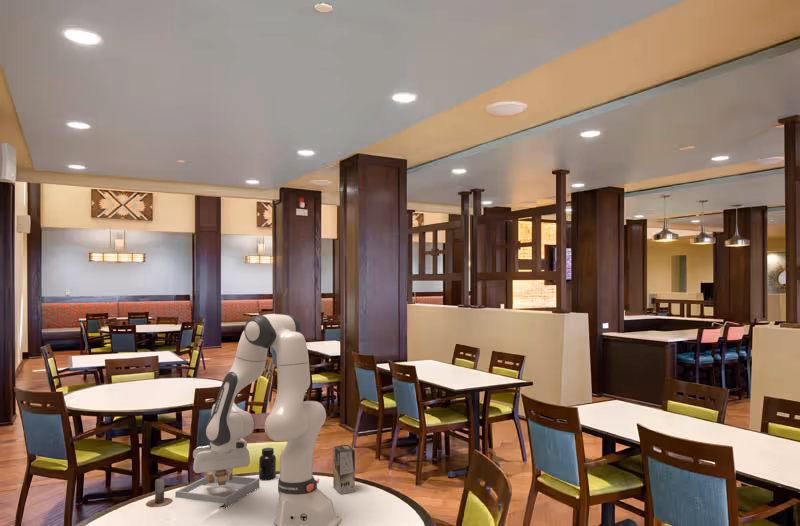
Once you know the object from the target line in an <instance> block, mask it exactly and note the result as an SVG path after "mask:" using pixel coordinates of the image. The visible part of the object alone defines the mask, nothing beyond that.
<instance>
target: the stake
mask: <svg viewBox="0 0 800 526" xmlns="http://www.w3.org/2000/svg"><path fill="white" fill-rule="evenodd" d="M154 488H155V489H154V499H150V500H148V501H147V502H146V503H145V506H147V507H148V508H162V507H165V506H168V505H170V504H172V503H173V501H174V500H173V499H172V498H169V497H165V478H157V479H155V483H154Z"/></svg>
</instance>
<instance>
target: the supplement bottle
mask: <svg viewBox="0 0 800 526" xmlns="http://www.w3.org/2000/svg"><path fill="white" fill-rule="evenodd" d="M274 450H275V449H274V448H273V447H264V448H262V449H261V455H260V457H259V460H258V461H259V463H258V478H259V480H260V481H272V480H274V479H275V478H276V476H277V475H276V474H277V473H276V472H277V471H276V470H277V457H276V454H275V451H274ZM271 479H272V480H271Z"/></svg>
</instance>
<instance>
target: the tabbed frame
mask: <svg viewBox="0 0 800 526" xmlns="http://www.w3.org/2000/svg"><path fill="white" fill-rule="evenodd" d="M228 472H229V471H228V469H225V470H217V471H216V474H215V476H216V477H217V476H218V477H219V482H217V483H218V484H219V485H226V476H225V475H227V473H228ZM204 473H205V474H204V475H205V476H204V477H206V479H207V481H208V483H214V477H213V475H212V473H211V471H210V472H204ZM232 476H233V472H232V473H231V475H230V476H229V480H232Z"/></svg>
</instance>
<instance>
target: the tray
mask: <svg viewBox="0 0 800 526" xmlns="http://www.w3.org/2000/svg"><path fill="white" fill-rule="evenodd" d="M200 486H206V487H207V486H208V487H215V488H223V489H231V490H235V491H234V492H232V493H230V494H228V495H227V496H220V495H210V494H203V493H195V492H191V491H192V490H195V489H196V488H198V487H200ZM257 488H258V489H259V488H260V479H259V477H258V478H256V477H249V476H248V477H247V476H241V475H240V476H239V475H232V480H229V481H226V485H219V484H218V483H217V482H216V483H208V481H207V479H206V477H205V476H204V477H201V479H198V480H195V481H194V482H192V483H190V484H188V485H186V486H184V487H182V488H180V489H178V490H177V491H175V498H178V499H184V500H185V499H186V500H192V501H193V500H194V501H200V502H201V501H202V502H208V503H216V504H222V505H220V506H219V508H221V507H225V508H224V509H227V508H229V507H230V506H232V505H233V503H234V502H235V503H237V502H239V501H240V500H242V499H244V498H245V497H247V496H248V495H250V494H251V493H253V492H254V490H255V489H256V490H258V489H257ZM256 490H255V491H256ZM252 491H253V492H252ZM250 492H251V493H250ZM249 493H250V494H249ZM247 494H248V495H247ZM246 495H247V496H246ZM244 496H245V497H244ZM241 498H242V499H241ZM239 499H240V500H239ZM236 501H237V502H236ZM235 503H234V504H235ZM231 504H232V505H231ZM228 506H229V507H228ZM226 507H227V508H226Z"/></svg>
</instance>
